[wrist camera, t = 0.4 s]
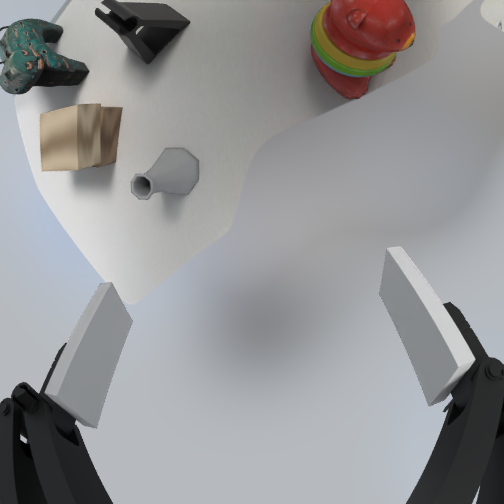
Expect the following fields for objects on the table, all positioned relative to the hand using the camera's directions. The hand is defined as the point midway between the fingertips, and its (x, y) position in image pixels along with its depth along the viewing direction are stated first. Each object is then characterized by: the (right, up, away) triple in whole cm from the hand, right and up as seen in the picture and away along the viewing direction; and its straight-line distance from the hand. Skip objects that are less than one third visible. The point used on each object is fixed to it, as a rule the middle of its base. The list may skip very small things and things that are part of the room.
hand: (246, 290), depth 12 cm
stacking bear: (+13, +27, +14) cm, 33 cm away
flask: (-11, +14, +26) cm, 31 cm away
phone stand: (-14, +34, +16) cm, 40 cm away
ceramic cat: (-33, +38, +18) cm, 53 cm away
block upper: (-26, +19, +20) cm, 38 cm away
